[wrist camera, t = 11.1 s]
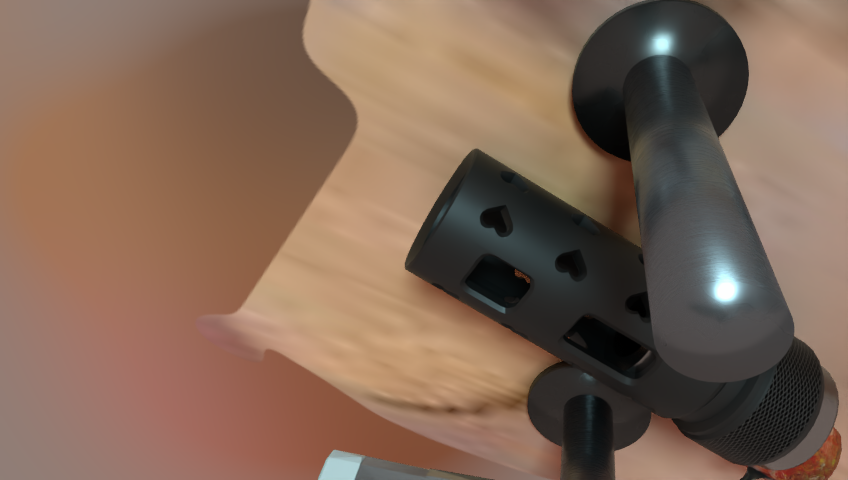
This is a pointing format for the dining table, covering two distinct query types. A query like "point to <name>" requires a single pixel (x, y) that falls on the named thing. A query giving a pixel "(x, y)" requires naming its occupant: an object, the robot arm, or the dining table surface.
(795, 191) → the dining table surface
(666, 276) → the posts
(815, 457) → the pomegranate
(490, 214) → the muzzle brake
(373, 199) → the dining table surface
